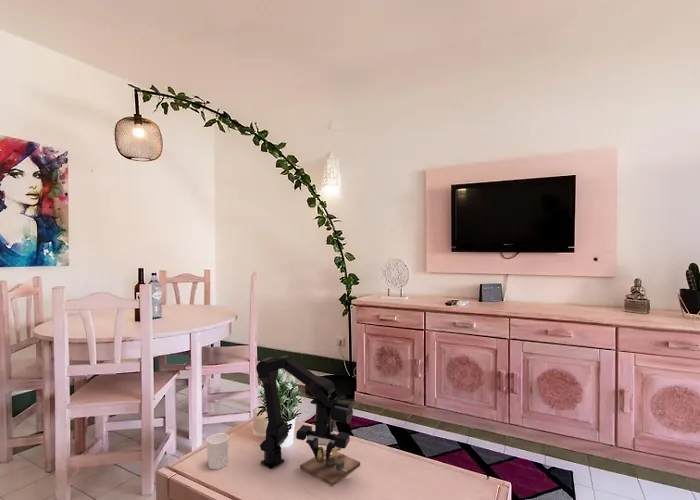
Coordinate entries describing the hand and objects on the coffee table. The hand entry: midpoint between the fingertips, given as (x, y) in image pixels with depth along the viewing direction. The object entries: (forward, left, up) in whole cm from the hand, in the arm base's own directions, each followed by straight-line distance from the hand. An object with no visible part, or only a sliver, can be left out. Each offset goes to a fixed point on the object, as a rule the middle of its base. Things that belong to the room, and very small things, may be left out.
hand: (322, 459), depth 136 cm
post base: (-1, +6, -6) cm, 8 cm away
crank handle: (-1, +5, -2) cm, 6 cm away
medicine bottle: (-16, +19, -6) cm, 26 cm away
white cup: (-35, -20, -6) cm, 41 cm away
